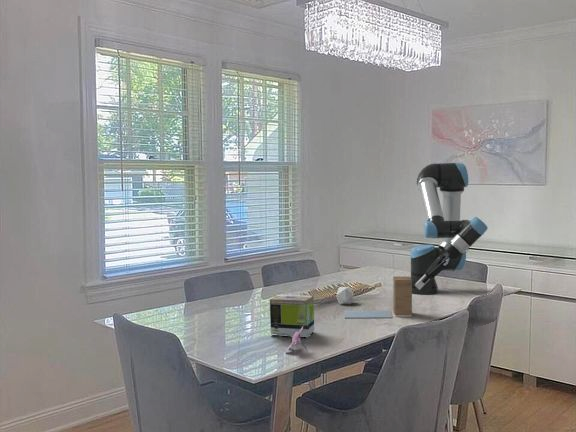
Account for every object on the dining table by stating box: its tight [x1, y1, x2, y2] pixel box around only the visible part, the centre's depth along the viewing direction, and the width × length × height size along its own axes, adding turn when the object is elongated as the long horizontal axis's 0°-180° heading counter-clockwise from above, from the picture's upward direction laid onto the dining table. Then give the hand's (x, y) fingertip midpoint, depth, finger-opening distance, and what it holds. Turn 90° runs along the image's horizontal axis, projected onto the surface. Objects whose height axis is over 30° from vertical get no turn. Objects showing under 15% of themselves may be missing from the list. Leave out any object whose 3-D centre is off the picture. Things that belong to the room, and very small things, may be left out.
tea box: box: [269, 293, 315, 338], centre depth 231 cm, size 15×10×15 cm
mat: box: [343, 309, 393, 319], centre depth 259 cm, size 12×20×1 cm, turn 87°
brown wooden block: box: [392, 275, 413, 318], centre depth 257 cm, size 7×7×16 cm
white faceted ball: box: [335, 286, 355, 305], centre depth 280 cm, size 8×9×10 cm
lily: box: [286, 327, 307, 352], centre depth 211 cm, size 11×11×9 cm
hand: (416, 287), depth 256 cm, fingers closed
